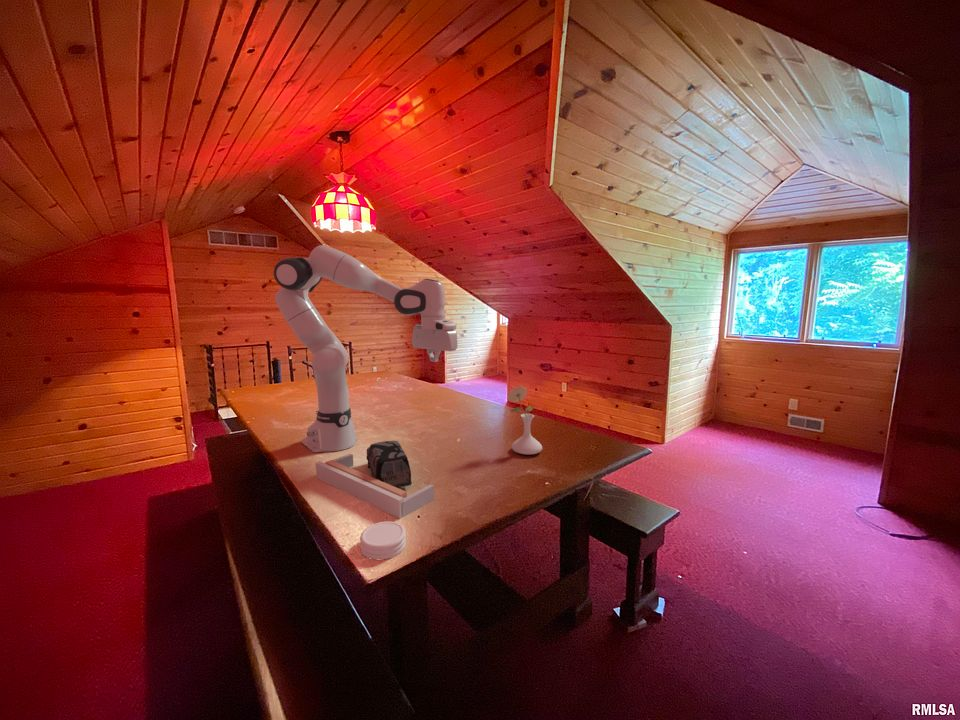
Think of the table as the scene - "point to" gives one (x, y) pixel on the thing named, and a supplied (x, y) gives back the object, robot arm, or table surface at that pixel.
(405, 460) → the black mottled block
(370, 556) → the coaster
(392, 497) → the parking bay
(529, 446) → the flower in vase
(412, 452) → the table surface
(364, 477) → the tan wooden bar
